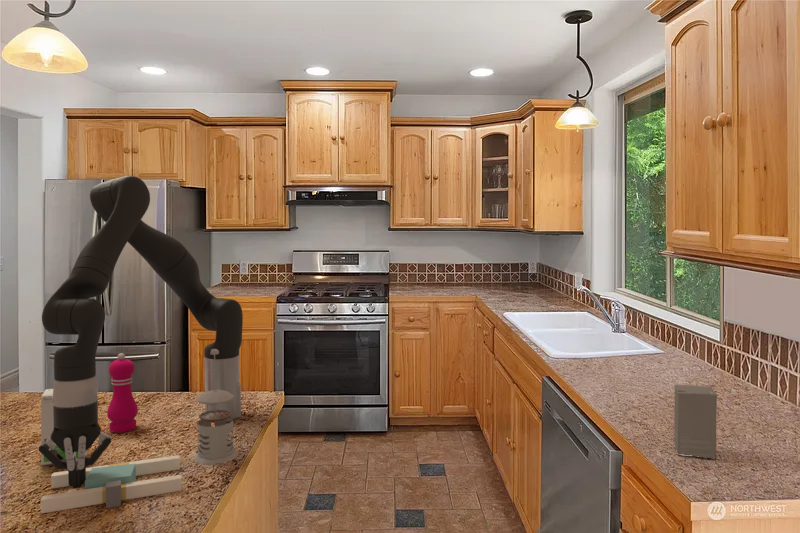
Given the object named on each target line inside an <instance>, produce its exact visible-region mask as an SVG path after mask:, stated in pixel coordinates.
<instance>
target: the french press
mask: <svg viewBox="0 0 800 533" xmlns="http://www.w3.org/2000/svg"><path fill="white" fill-rule="evenodd" d="M210 354H211V355H214V390H212V391H207V392H205V391H204V392H203V393H201V394H199V396H197V397H196V402H199V403H200V404H203V405H205V404H207V412H205V411H203V412H202V413H200V414H199V416H198V418H199V420H198V421H197V452H196V454H194V456H193V461H195V462H196V463H198V464H201V465H218V464H217V463H220V464H223V462H224V463H227V462H230V461H232V460H234V459H235V458H236V457H237V456H238V454H239V452H238V451H237V449H235V448H234V419H233V418H232V417H230V416H231V412H230V411H228V410H219V409H218V410H216V404H221V403H226V402H228V401H231V400H232V399H233V396H234V395H232V394H231V393H229V392H227V391H223V390H216V385H215V355H216V354H219V351H218V350H217V349H212V350H211V352H210ZM208 404H209V405H214V410H211V411H208ZM212 422H214V426H212ZM227 422H228V423H227ZM226 423H227V424H226ZM229 433H230V434H229Z"/></svg>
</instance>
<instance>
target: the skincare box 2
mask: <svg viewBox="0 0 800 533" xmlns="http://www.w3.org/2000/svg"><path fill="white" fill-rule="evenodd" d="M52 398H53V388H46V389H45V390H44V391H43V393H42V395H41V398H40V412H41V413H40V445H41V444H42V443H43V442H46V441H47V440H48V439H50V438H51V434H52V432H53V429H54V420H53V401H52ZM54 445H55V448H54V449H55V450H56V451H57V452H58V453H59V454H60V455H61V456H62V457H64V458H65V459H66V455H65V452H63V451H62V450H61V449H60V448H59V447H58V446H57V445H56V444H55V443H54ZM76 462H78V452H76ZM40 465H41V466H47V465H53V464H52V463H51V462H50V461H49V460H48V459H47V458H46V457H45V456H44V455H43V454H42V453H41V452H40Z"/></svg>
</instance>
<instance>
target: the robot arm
mask: <svg viewBox="0 0 800 533" xmlns="http://www.w3.org/2000/svg"><path fill="white" fill-rule="evenodd" d="M89 200H90V204H91V207H93V209H94V211H95V212H96V214H97V215H98V216H99V218H100V219H102V220H103V222H104V224H103V225H102V226H101V228H100V229H98V231H97V232H96V233H95V234H94V235H93V236H92V237H91V238H90V239H89V241H88V242H86V244H85V245H84V247H83V248H82V249H81V251H80V253H79V254H78V256H77V258H76V260H75V262H74V265H73V267H72V270H71V272H70V274H69V276H68V278H66V279H65V281H64V282H63V283H61V286H59V287H58V288H57V290H56V291H55V292H54V293H53V294H52V295H51V296H50V298H49V299H48V301H47V302H46V304H45V305H44V307H43V310H42V313H41V323H42V326H43V327H44V329H45V330H46V332H48V333H49V334H53V335H61V336H62V335H67V336H68V335H74V336H78V337H77V340H76V342H75V344H73V345H67V346H63V347H61V348H58V349H57V350H56V351H55V353H54V355H53V372H54V373H53V376H54V377H53V378H54V380H53V388H52V389H53V398H52V401H53V420H54V429H53V432H52V434H51V438H50V439H48V440H47V441H46V442H43V443H42V444H41V443H40V445H39V447H38V452H39V453H40V454H41V453H42V454H43V455H44V456H45V457H46V458H47V459H48V460H49V461H50V462H51V463H52V464H51V465H53V466H55V468H57V469H58V470H62V469H65V470H66V471H68V480H69V486H68V487H72V488H71V489H80V488H81V489H82V486H83V485H85V484H84V483H85V480H86V468H88V467H89V466H92V465H94V464H95V463H96V461H97V460H99V458H100V457H101V456H102V454H103V453H104V452H105V451H106V449H107V448H108V447H109V446H110V444H111V442H112V440H113V435H112V434H106V433H104V432H103V431H102V427H101V426H100V424H99V407H98V406H99V405H98V404H99V402H98V401H99V399H98V394H99V393H98V383H97V367H96V362H97V360H96V356H97V350H98V346H99V342H100V338H101V335H102V332H103V328H104V324H105V320H106V311H105V308H104V306H103V304H102V303H101V302H100V301H99V300H97V299H95V297H99V296H102V295H103V294H104V293H105V291H106V290H107V288H108V286H109V283H110V280H111V278H112V275H113V273H114V270H115V268H116V265H117V262H118V259H119V258H120V255H121V254H122V251H123V250H124V249H125V246H126V245H127V243H128V244H129V245H130V246H131V247H132V248H134V250H135V251H136V252H137V253H138V254H139V255H140V256H141V258H143V259H144V260H145V261H146V262H147V264H148V265H149V266H150V267H151V268H152V270H153V271H154V272H155V273H156V274H157V275H158V276H159V278H161V280H162V281H164V283H165V284H166V285H167V286H168V287H170V289H171V290H172V291H173V292H174V293H175V295H177V296H178V298H180V300H181V301H182V302H183V304H185V306H186V307H187V308H188V310H189V312H190V313H191V314H192V316H193V317H194V318H195V320H196V321H197V323H198V324H199V325H200V326H201V327H202V328H204V329H205V330H207V331H211V332H215V340H214V342H213V343H210V344H207V345H206V346H205V347H204V349H203V350H204V352H203V354H204V358H203V359H204V360H203V361H204V393H205V392H207V391H212V390H214V355H211V354H210V352H211V350H212V349H217V350H218V351H219V354H216V355H215V385H216V390H223V391H227V392H229V393H231V394H232V395H234V396H233V399H232V400H231V401H228V402H226V403H221V404H216V410H218V409H219V410H228V411H230V412H231V416H230V417H232V418H233V420H235V419H238V418H239V419H240V418H242V404H241V403H242V398H241V397H242V389H241V388H242V387H241V386H242V385H241V382H240V348H241V345H242V343H243V326H244V325H243V323H244V319H243V318H244V317H243V309H242V306H241V304H240V302H238V301H237V300H235V299H231V298H223V297H222V298H219V297H215V295H213V294H212V293H210V292H209V291H208V289H207V288H206V287H205V286H204V284H203V282H202V281H201V276H200V270H199V269H200V268H199V264H198V263H197V261H196V259H195V258H194V256H193V255H192V254H191V252H189V250H188V249H187V248H186V246H184V244H183V243H181V242H180V241H179V240H178V239H176V238H174V237H172V236H171V235H168V234H167V233H165V232H163V231H160V230H158V229H156V228H154V227H153V226H150V225H149V224H147V223H145V221H143V220H142V218H144V216H145V214H146V213H147V210H148V209H149V207H150V202H151V194H150V190H149V188H148V186H147V184H146V183H145V182H144V181H143V180H142V179H141V178H139V177H138V176H135V175H125V176H120V177H117V178H113V179H109V180H107V181H104V182H100V183H98V184H96V185H94V186H93V187H92V188H91V190H90V192H89ZM211 410H214V405H209V404H208V411H211ZM204 412H207V404H204ZM97 439H98V441H97V445H98V446H97V447H96V448H95V449H94V450H93V451H92V453H91V454H90V456H88V454H87V453H88V450H89V449H90V448H91V447H92V445H93V444H94V442H95V441H96V440H97ZM54 443H55V444H56V445H57V446H58V447H59V448H60V449H61V450H62V451H63V452H65V455H66V459H65V458H64V457H62V456H61V455H60V454H59V453H58V452H57V451H56V450H55V449H54V448H55V445H54ZM76 452H78V461H76ZM87 456H88V457H87Z"/></svg>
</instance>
